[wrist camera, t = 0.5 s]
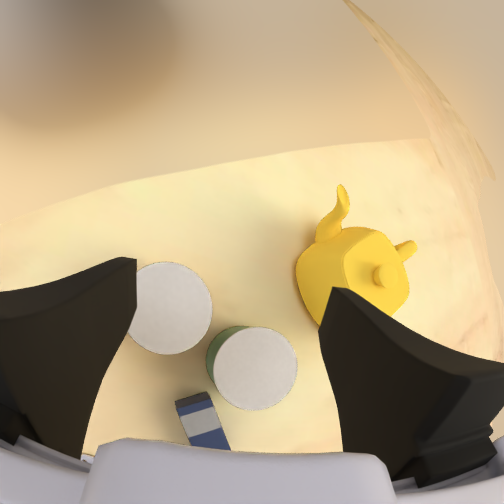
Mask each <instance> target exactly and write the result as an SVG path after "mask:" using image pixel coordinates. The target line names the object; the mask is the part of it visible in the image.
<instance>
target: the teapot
mask: <svg viewBox="0 0 504 504" xmlns="http://www.w3.org/2000/svg"><path fill="white" fill-rule="evenodd" d="M349 206H350V203H349V197H348V194H347V192H346V190H345V188H344V187H343V186H342V185H338V187H337V204H336V206H335V208H334V209H333V210H332V211H331V212H330V213H329V214H328V215H326V216H325V217H324V218H323V219H322V220H321V221H320V223H319V224H318V226H317V228H316V234H315V243H314V244H312V245H311V246H310V247H309V248H308V249H306V250H305V251H304V252H303V253H302V254H301V256H300V257H299V259H298V261H297V265H296V277H297V282H298V286H299V290H300V293H301V296H302V298H303V301H304V303H305V305H306V307H307V309H308V311H309V313H310V314H311V316H312V317H313V319H314V320H315V321H316V322H317V324H318V325H319V326H320V324H321V321H322V318H323V315H324V312H325V309H326V305H327V302H328V299H329V296H330V292H331V289H332V286H333V287H342V288H348V289H350V290H352V291H354V292H355V293H357V294H359V295H360V296H362V297H363V298H364V299H366V300H367V301H369V302H370V303H371V304H373V305H374V306H376V307H377V308H378V309H380V310H381V311H383V312H384V313H386V314H387V315H389V316H390V317H391V316H392V315H393V314H394V313H395V312H396V311H397V310H398V309H399V308H400V307H401V306H402V305H403V303H404V302H405V301H406V299H407V298H408V295H409V282H408V278H407V274H406V271H405V268H404V265H403V263H402V262H404V261H405V260H407V259H408V258H409V257H411V256H412V255H413V254H414V253H415V252H416V250H417V245H416V243H415V242H414V241H412V240H410V241H406V242H403V243H401V244H398V245H396V246H393V244H392V243H391V241H390V240H389V239H388V238H387V237H386V235H384V234H383V233H382V232H380V231H377V230H374V229H370V228H365V227H349V228H344V229H342V227H341V221H342V219H344V218H345V217H346V215H347V214H348V211H349Z"/></svg>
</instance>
